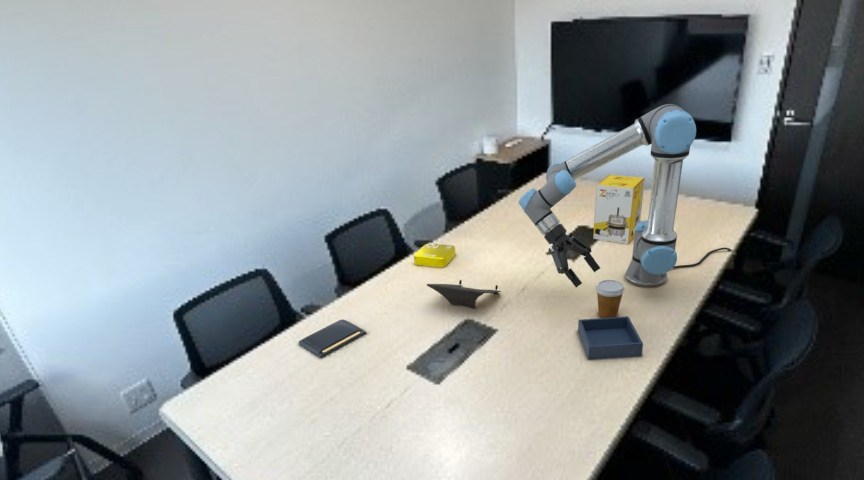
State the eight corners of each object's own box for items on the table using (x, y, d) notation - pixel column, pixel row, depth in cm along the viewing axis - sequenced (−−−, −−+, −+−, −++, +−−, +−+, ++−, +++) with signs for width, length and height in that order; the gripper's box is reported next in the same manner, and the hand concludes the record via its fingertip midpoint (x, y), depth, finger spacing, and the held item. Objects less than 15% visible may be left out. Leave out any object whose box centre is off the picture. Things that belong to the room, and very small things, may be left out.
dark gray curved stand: (503, 309, 211) (506, 286, 209) (481, 312, 190) (484, 286, 188) (450, 301, 219) (452, 279, 218) (424, 303, 199) (427, 278, 197)
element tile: (413, 265, 238) (411, 255, 236) (427, 251, 250) (426, 241, 247) (444, 268, 233) (443, 258, 230) (457, 254, 244) (456, 244, 242)
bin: (627, 328, 182) (628, 316, 179) (641, 356, 168) (643, 343, 165) (577, 331, 183) (578, 319, 180) (588, 359, 169) (589, 347, 166)
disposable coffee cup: (622, 310, 192) (625, 280, 186) (620, 323, 185) (623, 293, 178) (595, 307, 195) (597, 278, 189) (592, 320, 188) (594, 290, 181)
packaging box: (639, 231, 250) (645, 177, 237) (628, 244, 239) (633, 188, 226) (605, 226, 258) (609, 174, 245) (593, 238, 247) (596, 185, 234)
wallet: (342, 316, 200) (366, 329, 191) (343, 320, 201) (367, 334, 192) (295, 338, 189) (318, 354, 180) (296, 343, 190) (319, 358, 181)
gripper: (562, 223, 199) (597, 269, 198) (526, 247, 183) (563, 297, 183) (576, 212, 193) (612, 259, 192) (539, 235, 177) (578, 287, 177)
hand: (588, 277), depth 187 cm, fingers open, 13 cm apart
